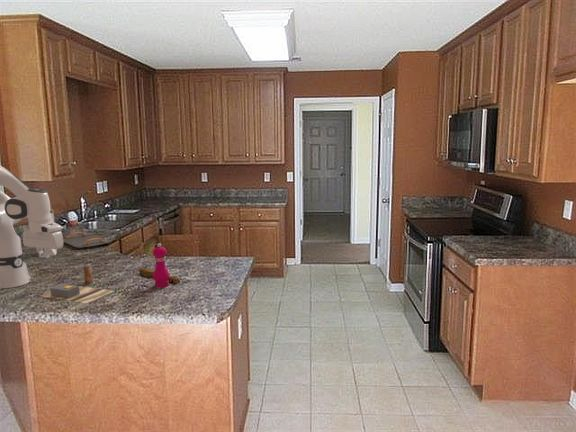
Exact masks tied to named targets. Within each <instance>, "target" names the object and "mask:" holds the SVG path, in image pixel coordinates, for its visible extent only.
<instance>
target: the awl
mask: <svg viewBox="0 0 576 432" xmlns="http://www.w3.org/2000/svg"><path fill="white" fill-rule="evenodd" d="M88 260H89V259H88V258H86V259H85V262H86V263H85V264H84V265H83V276H84V284H85V285H91V284H94V278H93V269H92V266H91V264H89V261H88Z"/></svg>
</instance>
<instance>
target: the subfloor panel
mask: <svg viewBox="0 0 576 432" xmlns="http://www.w3.org/2000/svg"><path fill="white" fill-rule="evenodd" d="M78 286H79V285H78ZM79 291H80V294H78V295H76V296H73V297H71V298H62V297H55V296H51V292H48V293H46V294H43V295H40V297H42V298H48V299H55V300H60V301H68V302H74V303H80V304H81V303H82V304H89V303H91V302H92V301H95V300H97V299H100V298H102V297H104V296H107V295H109V294H112V293H113V292H115V290H111V289H103V288H94V287H88V286H79Z"/></svg>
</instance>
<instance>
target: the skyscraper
mask: <svg viewBox="0 0 576 432" xmlns="http://www.w3.org/2000/svg"><path fill="white" fill-rule="evenodd" d="M50 211H52V213H51V212H50V215H51V217H52V221H54V222H55V215H54V209H52V208H51V210H50ZM57 251H58V249H51V251H50V253H49V256H50V257H54V256H56V255H57V254H58V252H57ZM43 252H44V253H45V250H44V249H43Z"/></svg>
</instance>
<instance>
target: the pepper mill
mask: <svg viewBox="0 0 576 432" xmlns="http://www.w3.org/2000/svg"><path fill="white" fill-rule="evenodd" d="M152 255H153V257H154V261H155V269H154V270H155V271H154V274H153V281H154V287H155V288H165V287H168V286H169V284H170V282H169V281H168V279H169V276H170V273H169V271H168V269H167V266H166V255H167V249H166V248H165V247H164V246H162V243H157V244H156V247H154V248H153V250H152Z"/></svg>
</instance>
